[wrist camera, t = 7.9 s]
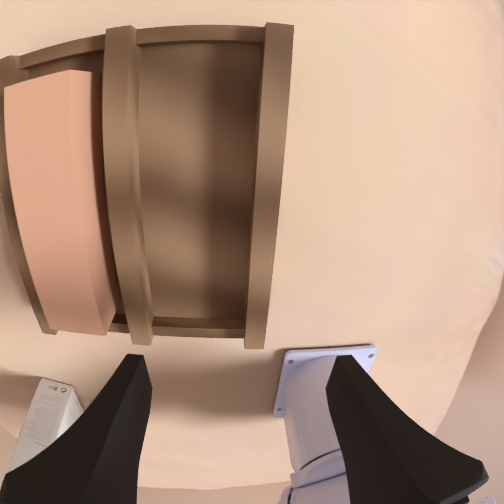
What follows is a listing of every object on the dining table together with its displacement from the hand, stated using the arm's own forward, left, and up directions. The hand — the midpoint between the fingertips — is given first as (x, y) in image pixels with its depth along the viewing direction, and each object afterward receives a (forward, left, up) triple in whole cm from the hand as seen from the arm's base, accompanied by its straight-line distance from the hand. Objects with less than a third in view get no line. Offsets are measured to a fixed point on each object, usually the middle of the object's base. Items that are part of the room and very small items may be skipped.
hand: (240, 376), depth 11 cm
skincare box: (-18, +18, -10) cm, 27 cm away
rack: (+4, +6, -9) cm, 12 cm away
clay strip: (+4, +10, -8) cm, 13 cm away
